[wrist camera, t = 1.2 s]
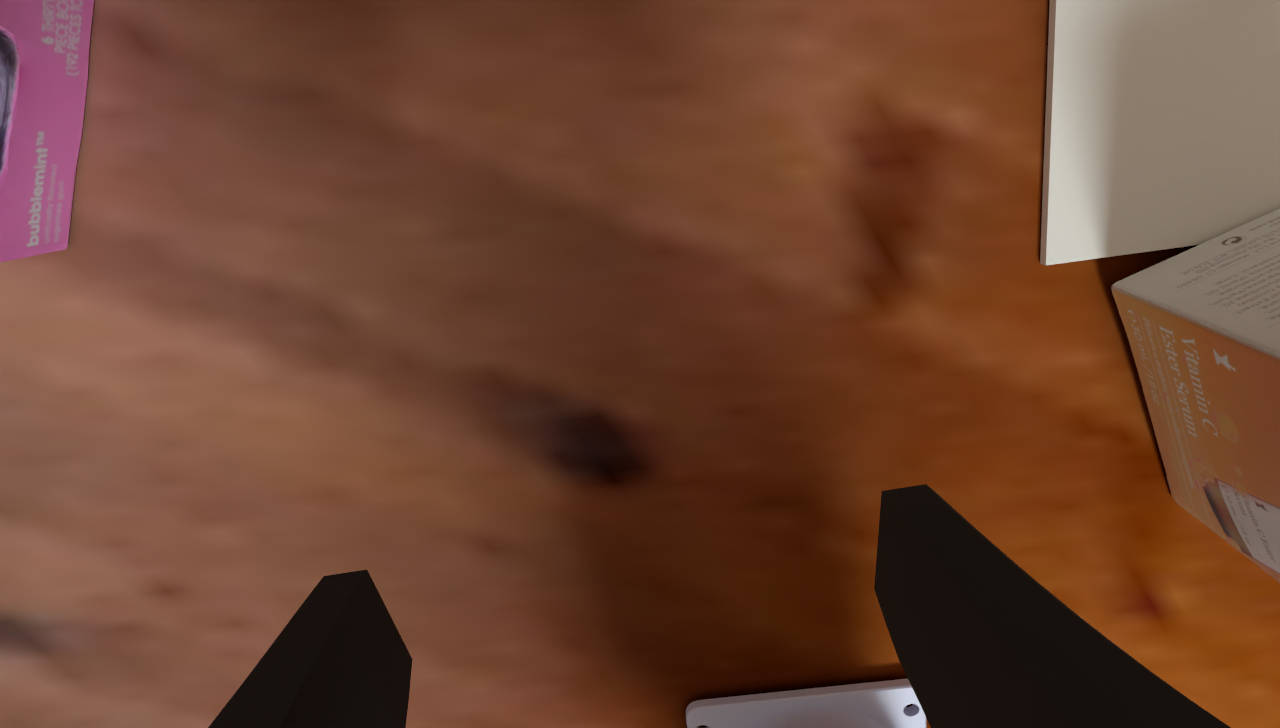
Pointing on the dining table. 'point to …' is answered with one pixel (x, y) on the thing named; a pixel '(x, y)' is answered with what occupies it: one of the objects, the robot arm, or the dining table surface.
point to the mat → (1158, 124)
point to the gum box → (40, 120)
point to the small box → (1216, 380)
